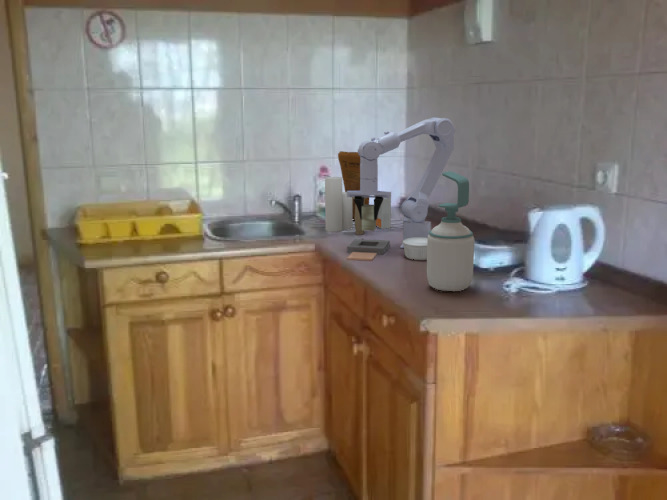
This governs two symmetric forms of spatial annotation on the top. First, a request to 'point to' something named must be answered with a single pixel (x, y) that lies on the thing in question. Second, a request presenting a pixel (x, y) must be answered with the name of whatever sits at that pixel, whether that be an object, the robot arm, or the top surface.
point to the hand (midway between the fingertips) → (368, 219)
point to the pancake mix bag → (351, 174)
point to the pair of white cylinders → (337, 206)
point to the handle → (358, 220)
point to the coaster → (361, 256)
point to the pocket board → (368, 246)
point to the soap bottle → (451, 245)
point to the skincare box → (384, 214)
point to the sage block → (368, 218)
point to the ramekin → (415, 248)
